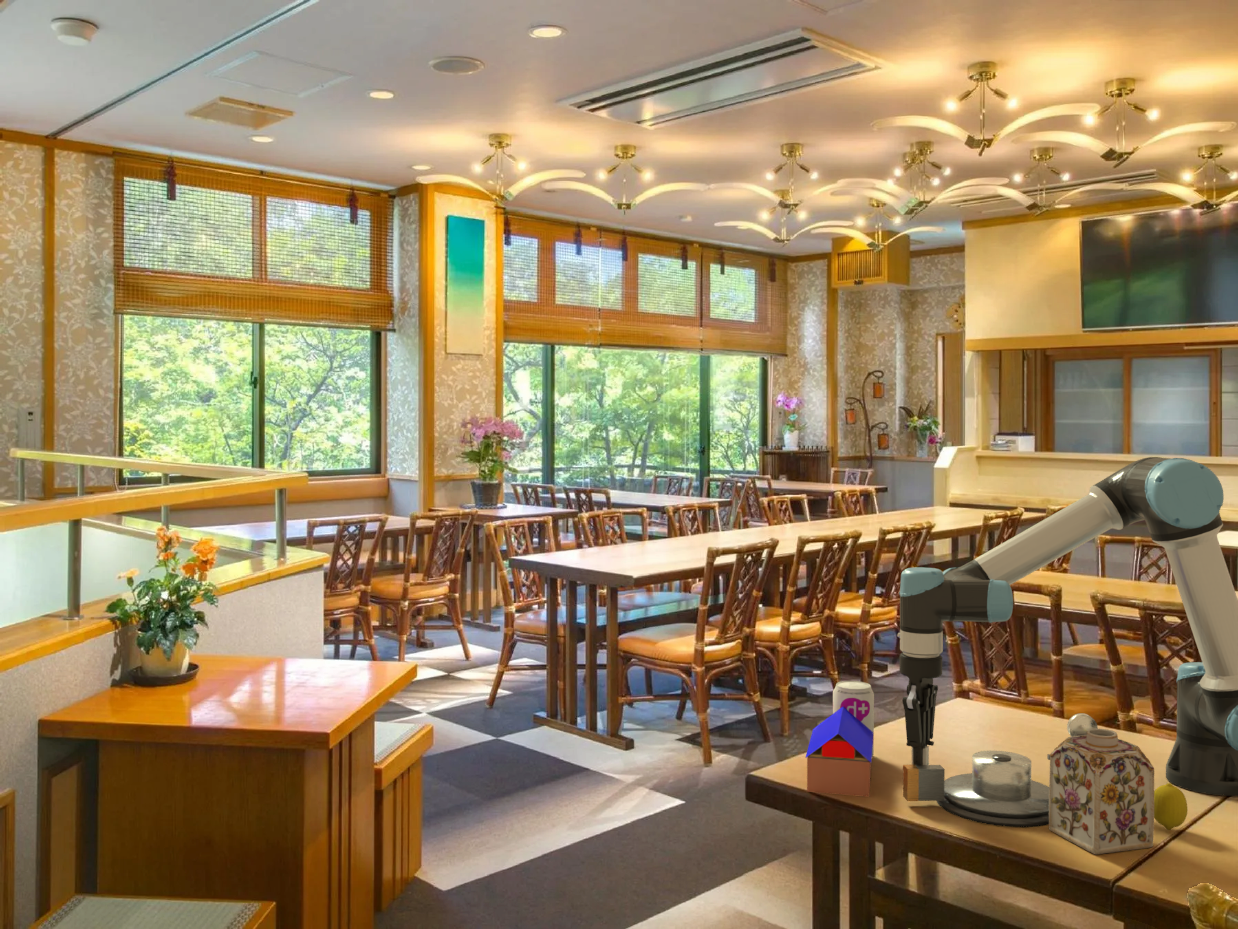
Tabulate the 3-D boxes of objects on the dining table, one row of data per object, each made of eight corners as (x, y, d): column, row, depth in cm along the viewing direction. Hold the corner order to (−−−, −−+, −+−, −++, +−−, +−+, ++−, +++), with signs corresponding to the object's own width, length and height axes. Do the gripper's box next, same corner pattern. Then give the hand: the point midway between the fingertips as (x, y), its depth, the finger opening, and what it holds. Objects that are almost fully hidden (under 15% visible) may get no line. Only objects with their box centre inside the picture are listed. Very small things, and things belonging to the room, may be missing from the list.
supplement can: (873, 764, 217) (874, 690, 217) (832, 761, 219) (832, 688, 219) (873, 752, 225) (873, 681, 225) (832, 750, 227) (833, 679, 227)
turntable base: (1084, 804, 195) (1084, 798, 195) (1034, 837, 179) (1034, 831, 179) (969, 776, 210) (969, 771, 210) (913, 805, 194) (913, 799, 194)
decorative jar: (1155, 848, 174) (1157, 738, 174) (1095, 857, 171) (1097, 745, 170) (1103, 822, 186) (1104, 719, 185) (1045, 830, 182) (1047, 724, 182)
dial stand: (1091, 797, 198) (1092, 711, 197) (1099, 805, 194) (1100, 717, 193) (1043, 796, 198) (1045, 710, 198) (1051, 804, 194) (1052, 716, 194)
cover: (1017, 782, 199) (1017, 748, 199) (1040, 801, 189) (1041, 765, 189) (963, 783, 199) (964, 748, 198) (984, 802, 189) (985, 766, 188)
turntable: (1030, 778, 205) (1031, 748, 204) (1079, 817, 185) (1080, 783, 184) (889, 780, 204) (889, 750, 203) (922, 819, 184) (923, 785, 183)
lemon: (1143, 824, 185) (1144, 778, 184) (1174, 823, 185) (1175, 777, 185) (1162, 837, 179) (1163, 789, 179) (1194, 835, 180) (1195, 788, 179)
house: (873, 765, 218) (873, 708, 217) (871, 798, 198) (871, 735, 198) (813, 760, 221) (813, 704, 220) (805, 793, 201) (805, 731, 201)
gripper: (912, 644, 203) (911, 768, 204) (888, 657, 193) (887, 787, 194) (952, 649, 199) (951, 775, 200) (930, 662, 188) (928, 795, 189)
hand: (919, 781), depth 197 cm, fingers closed
